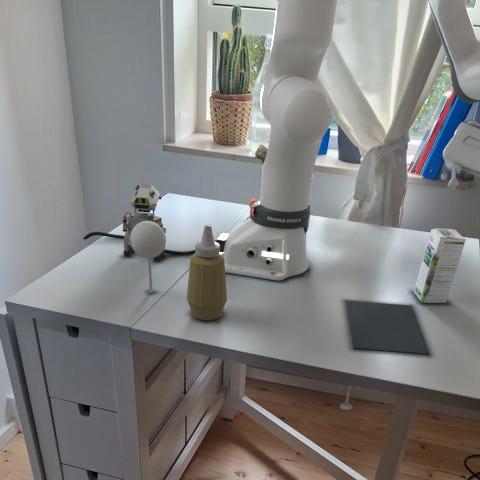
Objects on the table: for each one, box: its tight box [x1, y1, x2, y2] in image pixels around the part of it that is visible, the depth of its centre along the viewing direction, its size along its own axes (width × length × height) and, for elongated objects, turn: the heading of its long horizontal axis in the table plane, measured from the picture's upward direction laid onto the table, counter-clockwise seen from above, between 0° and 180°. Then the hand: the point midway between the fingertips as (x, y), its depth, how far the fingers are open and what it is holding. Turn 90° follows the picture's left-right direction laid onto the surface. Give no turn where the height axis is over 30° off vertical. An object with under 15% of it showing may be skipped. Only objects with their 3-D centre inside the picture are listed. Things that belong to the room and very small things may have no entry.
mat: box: [345, 300, 429, 355], centre depth 114 cm, size 14×20×1 cm
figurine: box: [122, 183, 167, 262], centre depth 133 cm, size 9×12×15 cm
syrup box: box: [413, 228, 467, 304], centre depth 121 cm, size 6×6×14 cm
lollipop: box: [130, 221, 167, 294], centre depth 116 cm, size 7×7×15 cm
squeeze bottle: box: [186, 223, 228, 321], centre depth 109 cm, size 8×8×18 cm
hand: (470, 196), depth 121 cm, fingers open, 8 cm apart
